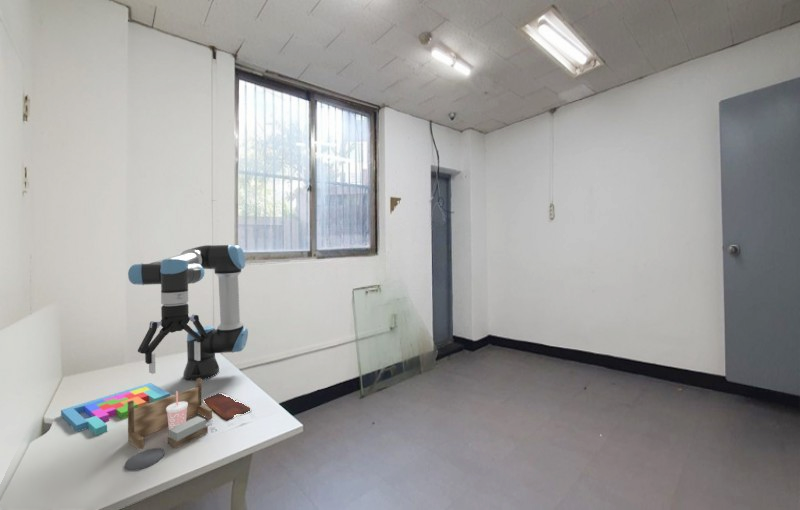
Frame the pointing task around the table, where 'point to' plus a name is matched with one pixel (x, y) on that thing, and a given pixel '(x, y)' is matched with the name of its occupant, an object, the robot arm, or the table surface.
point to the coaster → (144, 459)
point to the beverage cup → (176, 413)
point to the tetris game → (111, 407)
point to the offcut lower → (186, 438)
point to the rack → (162, 414)
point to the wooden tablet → (225, 406)
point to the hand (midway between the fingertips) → (176, 366)
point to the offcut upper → (187, 428)
